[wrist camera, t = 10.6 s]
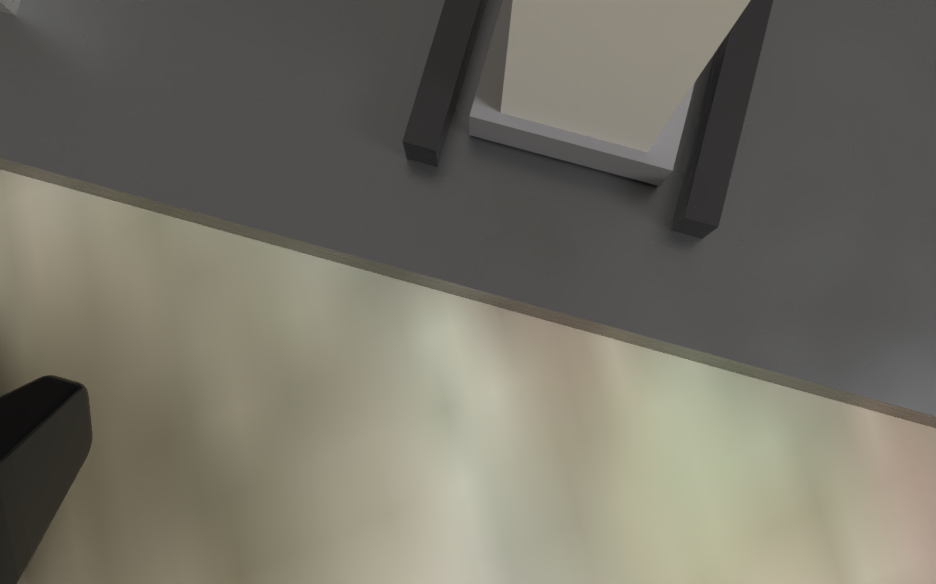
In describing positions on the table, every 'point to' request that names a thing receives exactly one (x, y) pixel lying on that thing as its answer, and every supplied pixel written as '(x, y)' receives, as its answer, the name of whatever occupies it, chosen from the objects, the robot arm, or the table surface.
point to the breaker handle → (598, 79)
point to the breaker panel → (526, 170)
